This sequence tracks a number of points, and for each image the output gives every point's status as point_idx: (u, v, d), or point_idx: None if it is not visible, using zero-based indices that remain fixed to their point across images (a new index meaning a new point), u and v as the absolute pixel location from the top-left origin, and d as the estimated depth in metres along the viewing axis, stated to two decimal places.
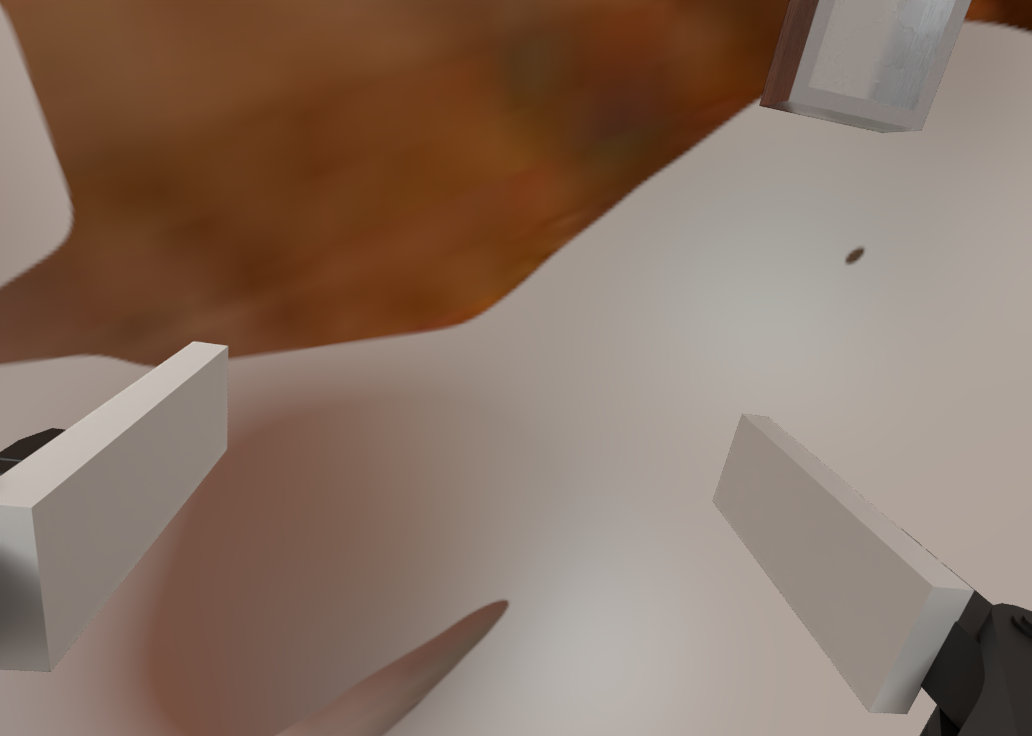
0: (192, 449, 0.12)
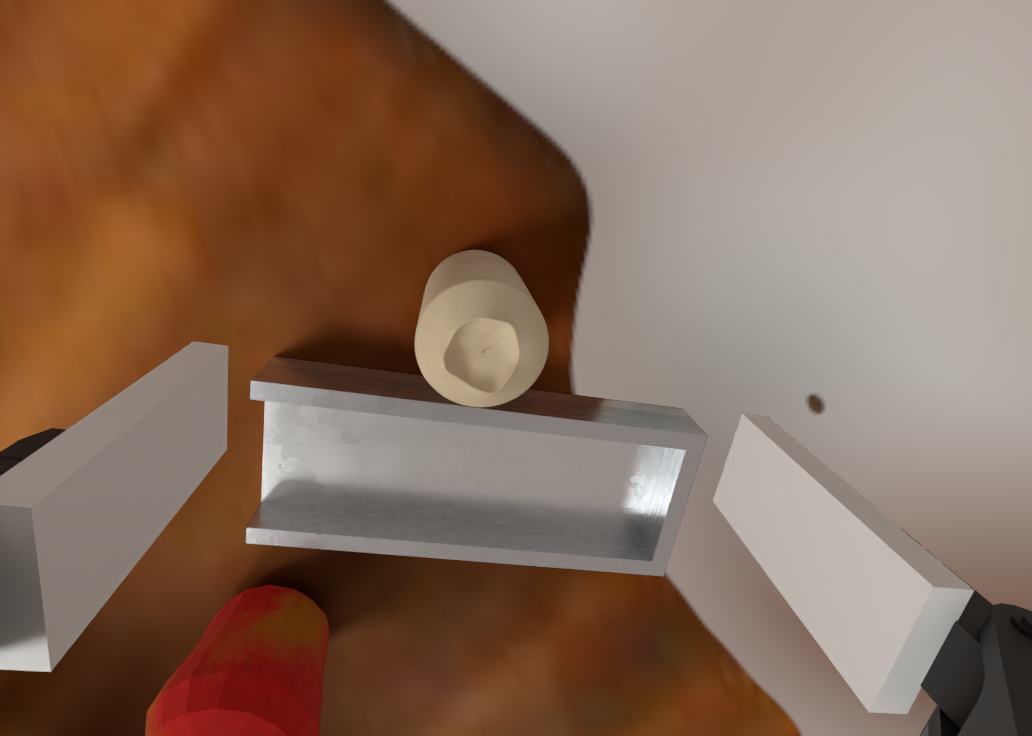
0: (192, 449, 0.12)
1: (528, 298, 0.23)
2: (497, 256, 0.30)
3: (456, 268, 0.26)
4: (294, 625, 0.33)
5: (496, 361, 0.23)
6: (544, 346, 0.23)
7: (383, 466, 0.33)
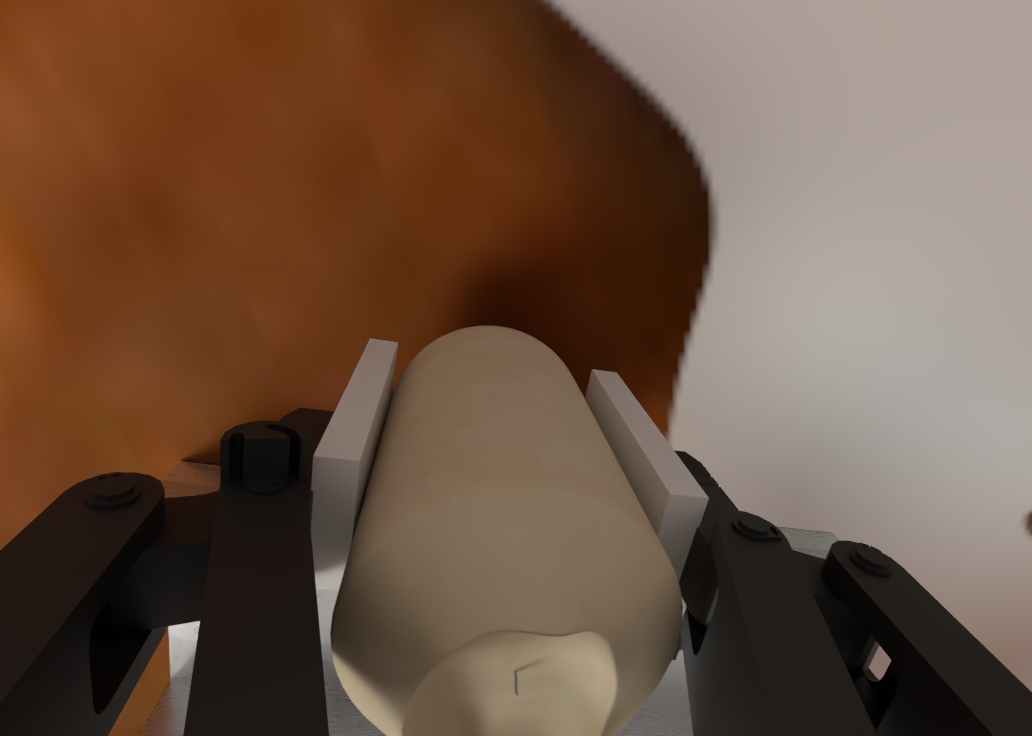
0: None
1: (640, 529, 0.08)
2: (532, 343, 0.15)
3: (448, 400, 0.11)
4: None
5: (550, 696, 0.08)
6: (673, 641, 0.09)
7: None
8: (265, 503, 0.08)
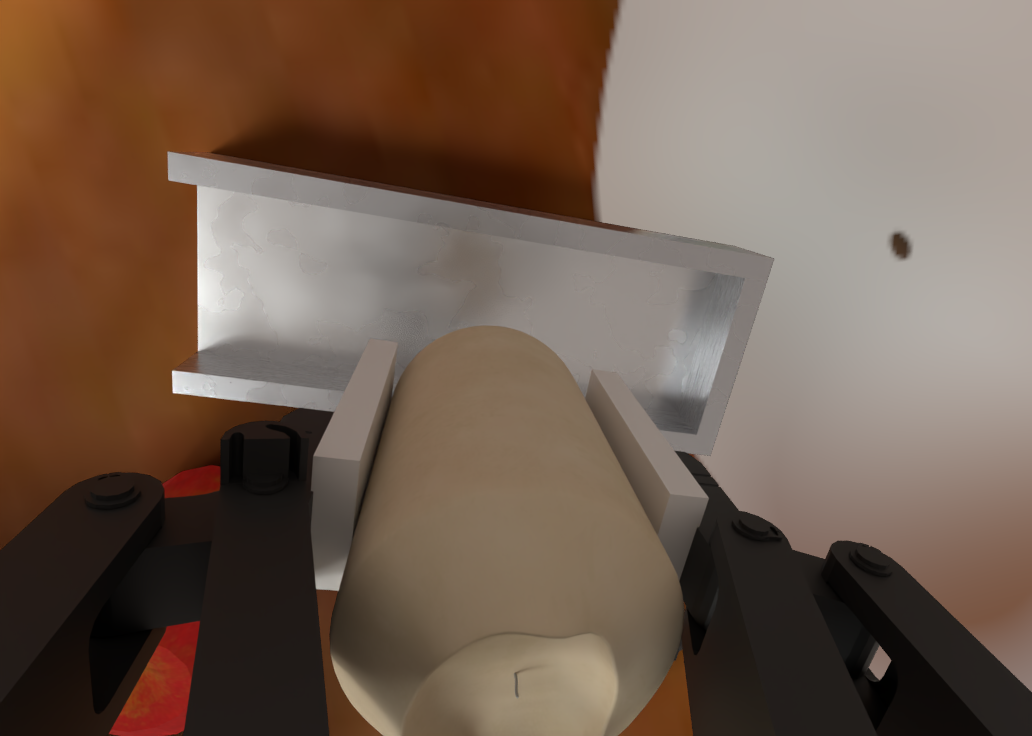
0: None
1: (641, 531, 0.08)
2: (532, 343, 0.15)
3: (448, 400, 0.11)
4: None
5: (550, 698, 0.08)
6: (675, 643, 0.09)
7: (354, 306, 0.26)
8: (265, 503, 0.08)
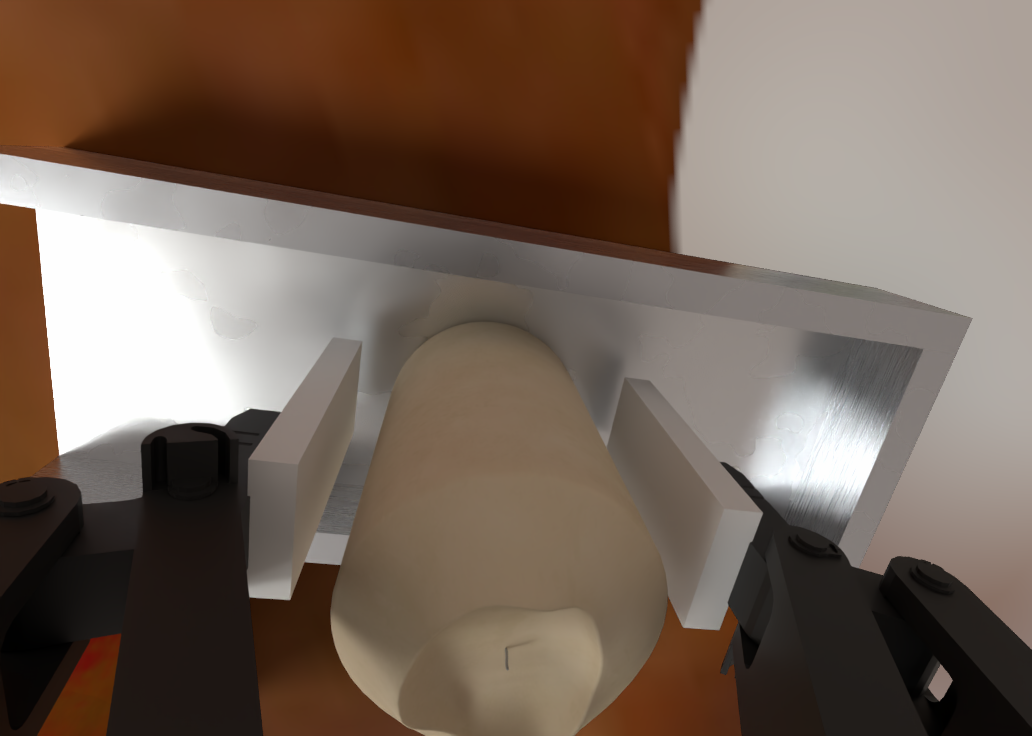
0: (343, 429, 0.14)
1: (625, 513, 0.09)
2: (528, 338, 0.15)
3: (445, 392, 0.12)
4: None
5: (539, 672, 0.09)
6: (658, 621, 0.09)
7: None
8: (193, 509, 0.08)
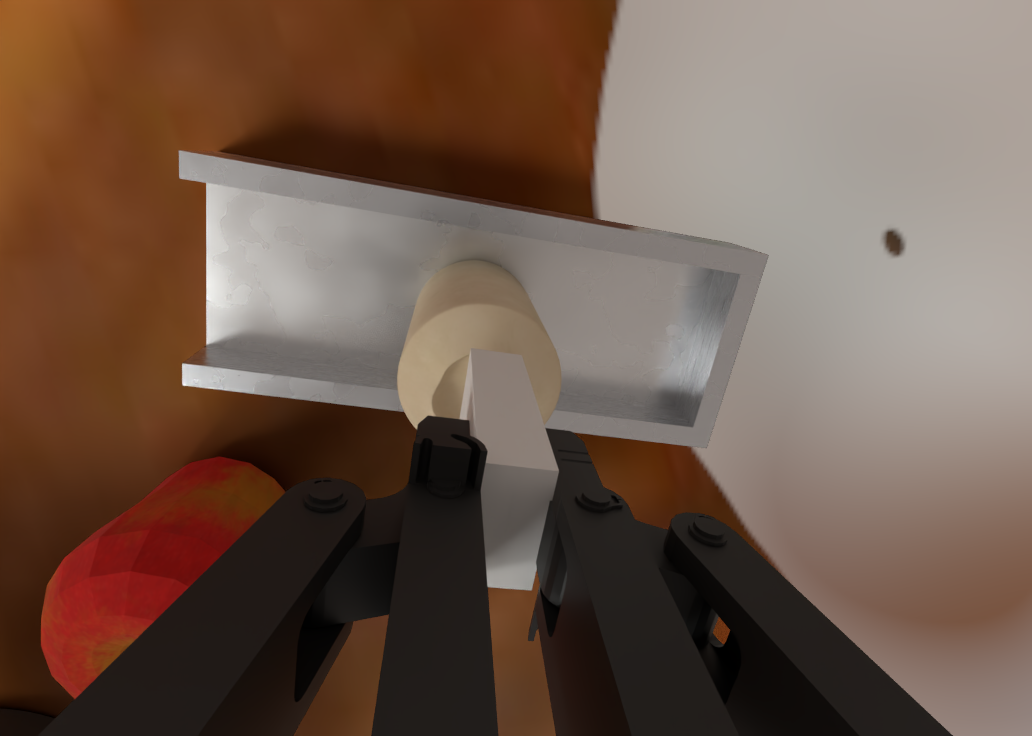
0: None
1: (537, 326, 0.19)
2: (500, 268, 0.25)
3: (450, 285, 0.21)
4: (247, 499, 0.26)
5: None
6: (556, 384, 0.19)
7: (359, 301, 0.26)
8: (445, 506, 0.09)
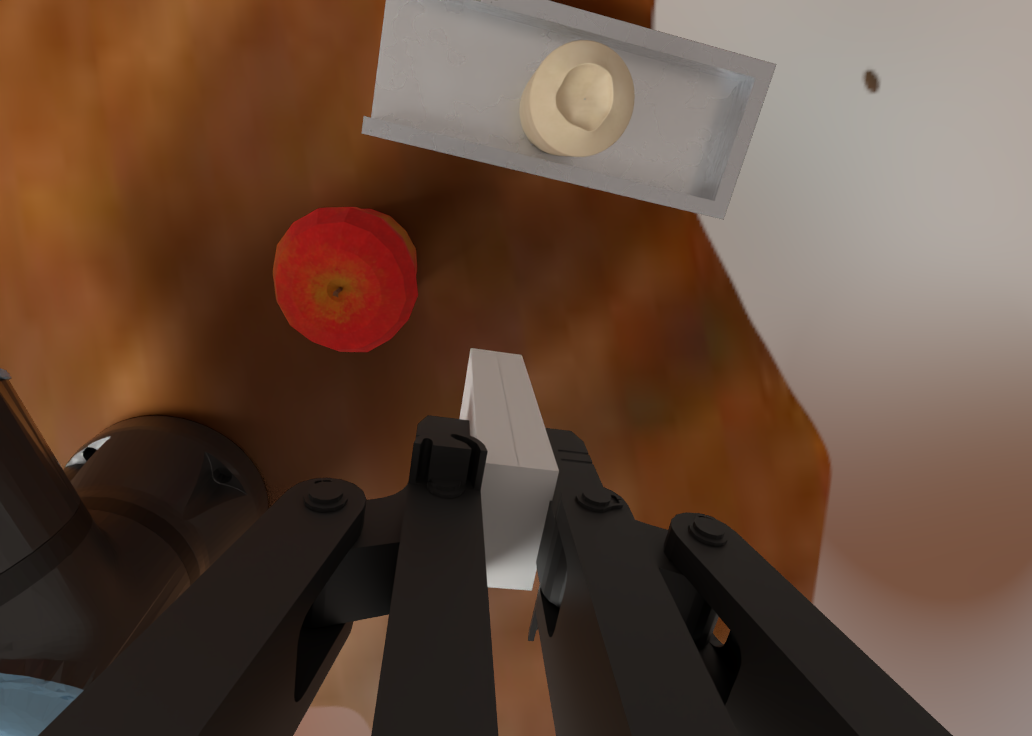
0: None
1: (622, 60, 0.29)
2: None
3: None
4: (394, 228, 0.37)
5: (593, 109, 0.29)
6: (630, 103, 0.30)
7: (480, 92, 0.37)
8: (445, 506, 0.09)
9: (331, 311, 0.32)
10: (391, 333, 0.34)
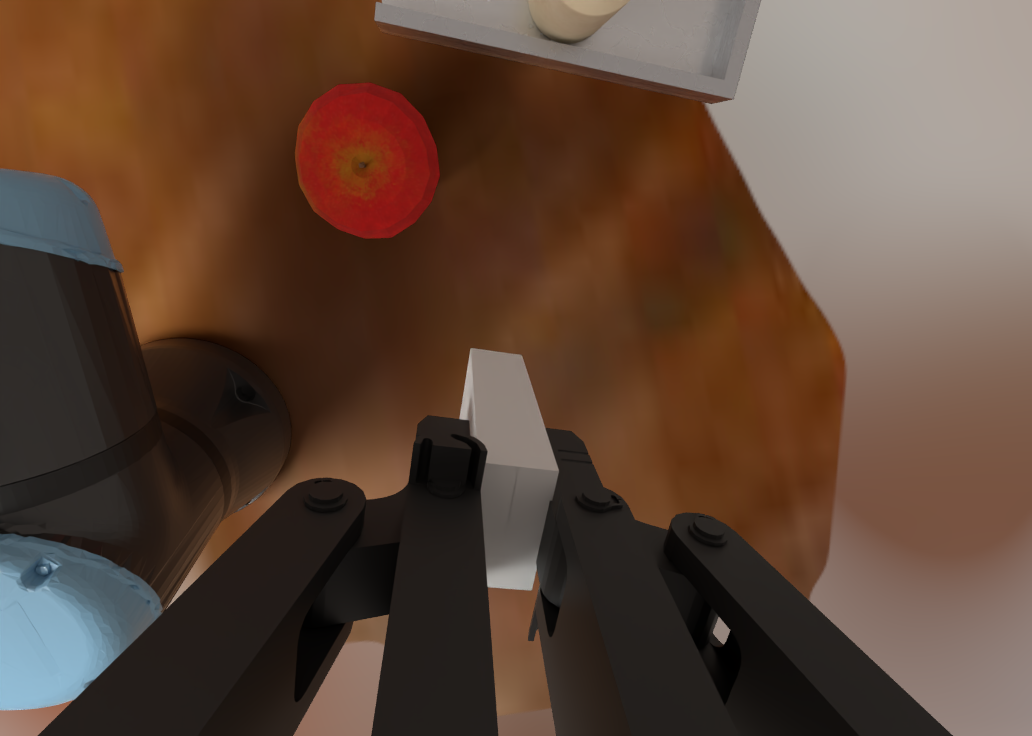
0: None
1: None
2: None
3: None
4: None
5: None
6: None
7: None
8: (445, 506, 0.09)
9: (356, 188, 0.32)
10: (415, 214, 0.34)
